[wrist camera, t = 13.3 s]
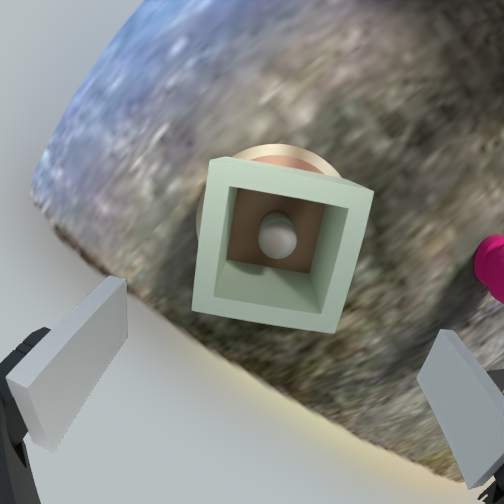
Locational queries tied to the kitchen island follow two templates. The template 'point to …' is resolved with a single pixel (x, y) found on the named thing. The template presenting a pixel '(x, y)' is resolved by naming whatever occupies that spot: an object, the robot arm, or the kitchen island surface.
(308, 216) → the post stand
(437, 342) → the robot arm
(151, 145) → the kitchen island surface
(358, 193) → the square ring
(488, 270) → the pepper mill
